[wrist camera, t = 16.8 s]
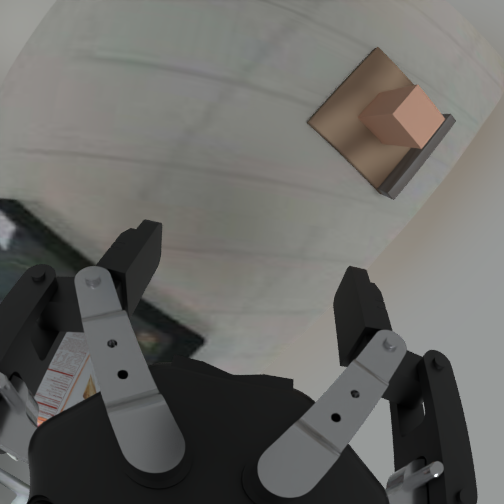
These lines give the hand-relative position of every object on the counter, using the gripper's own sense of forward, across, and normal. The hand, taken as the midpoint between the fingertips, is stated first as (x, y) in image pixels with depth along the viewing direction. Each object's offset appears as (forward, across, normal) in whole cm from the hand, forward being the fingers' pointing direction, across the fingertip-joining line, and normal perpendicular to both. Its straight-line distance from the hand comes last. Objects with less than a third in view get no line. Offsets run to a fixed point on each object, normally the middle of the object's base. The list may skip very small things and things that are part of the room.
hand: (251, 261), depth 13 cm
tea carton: (+28, -12, -5) cm, 31 cm away
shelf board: (+29, -12, -5) cm, 32 cm away
